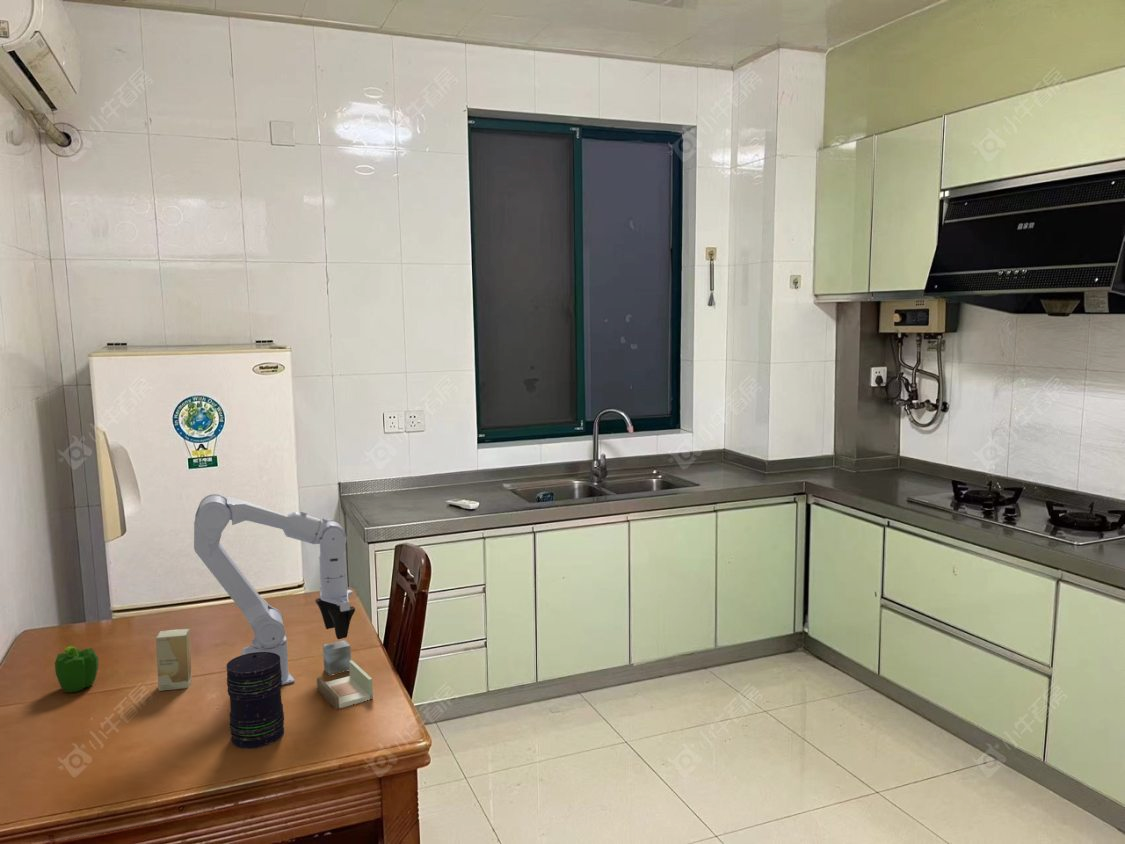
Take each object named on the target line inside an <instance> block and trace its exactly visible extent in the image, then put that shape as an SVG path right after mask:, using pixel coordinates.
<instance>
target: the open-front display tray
mask: <svg viewBox="0 0 1125 844" xmlns="http://www.w3.org/2000/svg"><path fill="white" fill-rule="evenodd" d="M348 672H349V675H347V676H345V677H341V678H337V679H333V680H329V681H324V679H322V678H321V676H318V677H316V687H317V690H318V691H319V692H320V693H321V695H322V696H323V697H324V698H325V699H326V700H327V701H328V703H329V704H330V705H331V707H333V708H334V709H335V710H339V709H342V708H347V707H350V706H353V704H354V705H357V704H361V703H364V701H365V702H367V700H368V701H371V700H370V699H372V700H374V695H373V694H374V691H373V678H372V677H371V676H370V675H369V674H367V672H365V671H364V670H363V669H362V668H361V666H359V665H358V664H357V663H356V662H355V661H354V660H353V659H351V661H349V671H348Z"/></svg>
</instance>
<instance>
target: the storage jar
mask: <svg viewBox="0 0 1125 844" xmlns="http://www.w3.org/2000/svg"><path fill="white" fill-rule="evenodd" d="M281 677H282V672H281V665H280V656H279V655H278V654H275V653H271V652H255V653H249V654H245V655H238V656H236V657H234V658H232V659H230V660H229V661H228V662H227V663H226V685H227V694H228V696H229V704H230V712H229V729H230V735H231V737H230V739H231V740H230V742H231V744H232V745H233V746H234V747H236V748H238V749H242V750H243V749H245V750H254V749H259V748H264V747H268V746H270V745H273V744H274V743H276V742H278V741H280V740H281V739H282V738H283V736H285V735H284V734H285V727H284V725H285V722H284V721H285V712H284V706H283V705H284V704H283V703H282V689H281V688H282V687H283V685H282V680H281Z"/></svg>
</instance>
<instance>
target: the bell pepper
mask: <svg viewBox="0 0 1125 844" xmlns="http://www.w3.org/2000/svg"><path fill="white" fill-rule="evenodd" d="M54 668H55V675H56V678H57V681H58V684H59V685H60V687H61V688H62V690H63V691H64V692H65V693H77V692H80V691H82V690H84V689H86V688H88V687H92V686H93V684H94V682H95V680H96V679H97V676H98V675H97V673H98V671H99V670H98V669H99V656H98V655H97V654H96V652H95V650H94V649H93V648H91V647H90V648H86V649H83V650H81V649H77V648H76V647H75V646H72V645H71V646H67V647H66V648H65V649H64V652H63V653H58V654H57V656H56V659H55V662H54Z"/></svg>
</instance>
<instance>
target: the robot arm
mask: <svg viewBox="0 0 1125 844" xmlns="http://www.w3.org/2000/svg"><path fill="white" fill-rule="evenodd" d="M194 515H195V518H194V522H193V531H194V532H193V536H194V537H193V550H194V552H195V554H196V555H197V556H198V557H199V558H200V560H201V561H202V562H203V564H204V565H205V566H206V568H207V569H208V570H209V571H210V573H211V574H212V575H213V576H214V577H215V579H216V580H217V582H218V583H219V585H221V587H222V588H223V589H224V591H225V593H227V594H228V596H229V597H230V598H231V599H232V601H233V603H235V605H236V606H237V607H238V609H239V610H240V611H241V613H242V614H243V615H244V617H245V619H246V621H247V623H248V625H249V626H250V628H251V629H252V631H253V635H254V639H252V642H251V643H252V644H250V645H248V646H246V647H243V648H241V653H240V654H241V655H245V654H249V653H255V652H271V653H275V654H278V655H279V656H280V665H281V672H282V677H281V680H282V686H283V685H288V684H291V683H294V682H295V678H294V677H293V676H292V674H291V673H290V672H289V660H288V659H289V657H288V655H289V654H288V640H287V636H286V628H285V626H284V622H283V620H284V618H283V615H282V613H281V611H280V609H277V608H276V607H273V606H271V605H270V604H269V603H268V602H267V601H266V600H265V599H264V598H263V597H262V596H261V595H260V594H259V592H258V591H257V590H256V588H255V587H254V586H253V585H252V583H251V582H250V581H249V580H248V578H247V577H246V575H245V574H244V573H243V572H242V571H241V569H240V568H239V567H238V565H237V564H236V563H235V562H234V560H233V559H232V557H230V555H229V554H228V552H227V551H226V550H225V549H224V547H223V546H222V544H220V542H221V538H222V533H223V532H224V530H225V529H226V527H227V526H228V524H229V522H230V521H231V525H232V526H233V525H234V526H235V525H237V524H240V523H243V522H245V521H248V522H250V523H255V524H259V525H264V526H268V527H272V528H276V529H279V530H282V531H283V533H284V536H285V537H287V538H290V539H294V540H298V541H301V542H305V543H308V544H310V545H319V557H318V559H319V574H320V575H319V577H320V586H319V594H320V595H319V596H320V597H319V598H316V599H315V600H314V602H315V603H316V605H317V606H318V608H319V610H320V613H321V617H322V620H323V624H324V627H325V629H326V630H330V629H334V632H335V637H336V639H337V640H343V639H346V638H347V637H348V634H349V628H350V625H351V621H352V618H353V615H354V613H355V611H356V607H355V606H353V605H352V606H351V603H350V600H349V596H351V595H353V590H351V589H348V582H347V581H348V580H347V579H348V578H347V558H346V552H345V550H346V547H345V546H346V544H347V539H348V538H347V534H346V532H345V531H344V529H343V527H342V526H341V524H339V523H338V521H337V522H336V521H335V520H333V519H327V518H325V517H323V518H318V517H315V516H311V515H309V514H308V513H307V511H305V510H300V512H298V511H293V512H292V513H288V514H284V513H281V512H278V511H276V510H273V509H270V508H267V507H264V506H261V505H258V504H255V503H253V502H249V501H246V500H243V499H240V498H236V497H232V496H226V497H225V496H223V495H222V494H218V493H211V494H208V495H205V496H204V498H202V499H201V501H200V502H199V505H198V507H197V510H196V513H195V514H194ZM241 655H240V656H241Z"/></svg>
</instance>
